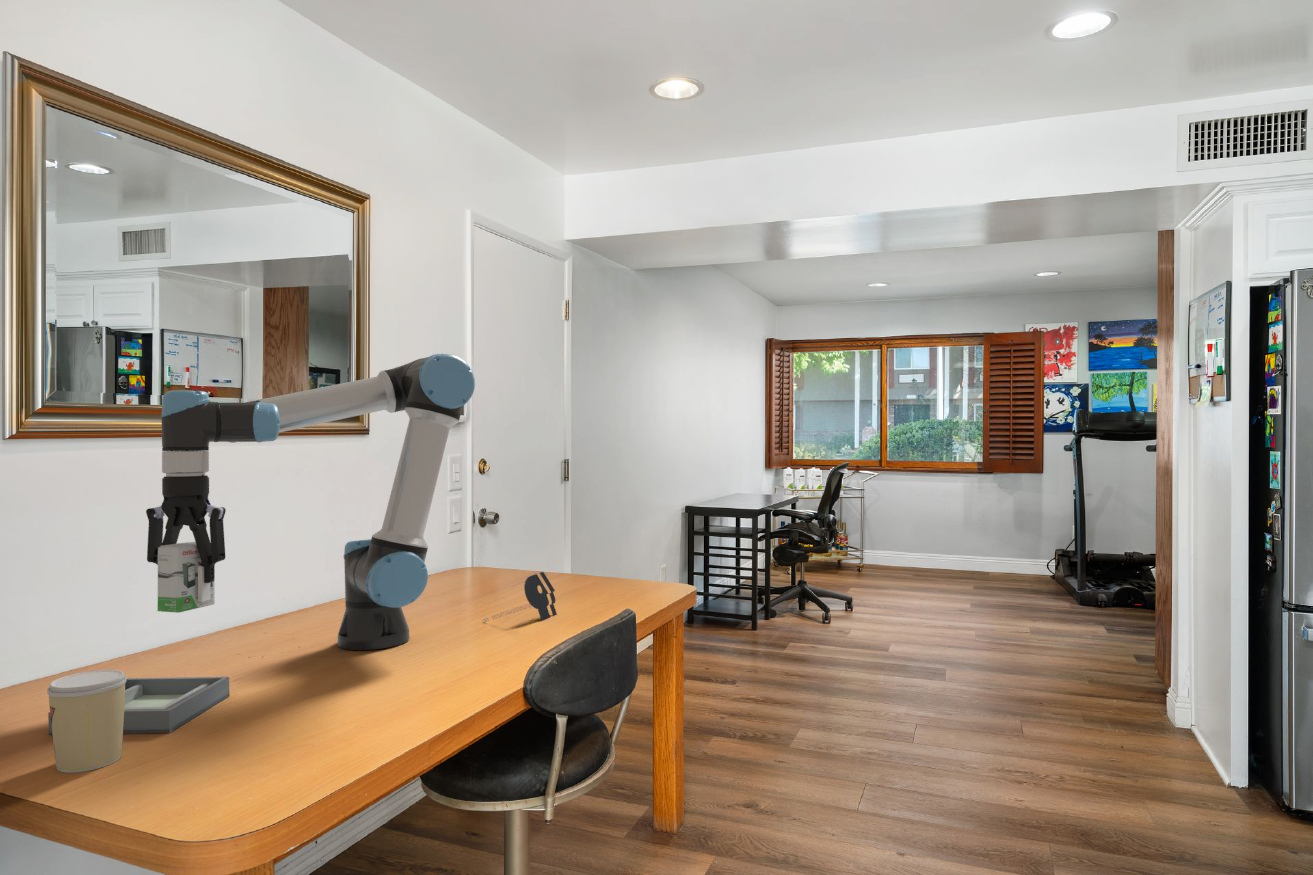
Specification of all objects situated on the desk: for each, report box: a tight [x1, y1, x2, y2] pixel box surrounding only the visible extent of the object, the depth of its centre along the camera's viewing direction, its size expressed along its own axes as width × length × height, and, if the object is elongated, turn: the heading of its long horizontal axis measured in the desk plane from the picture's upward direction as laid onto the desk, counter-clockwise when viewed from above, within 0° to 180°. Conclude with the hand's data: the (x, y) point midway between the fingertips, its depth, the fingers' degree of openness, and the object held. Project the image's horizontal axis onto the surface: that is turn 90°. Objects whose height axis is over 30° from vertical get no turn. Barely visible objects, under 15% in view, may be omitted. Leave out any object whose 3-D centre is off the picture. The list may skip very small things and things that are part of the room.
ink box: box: [157, 541, 215, 614], centre depth 152 cm, size 9×5×12 cm, turn 164°
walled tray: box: [48, 676, 230, 736], centre depth 139 cm, size 19×18×4 cm
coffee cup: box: [46, 669, 127, 774], centre depth 119 cm, size 9×9×12 cm
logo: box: [482, 571, 558, 623], centre depth 205 cm, size 17×18×11 cm
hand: (186, 600), depth 152 cm, fingers closed on ink box, 6 cm apart
